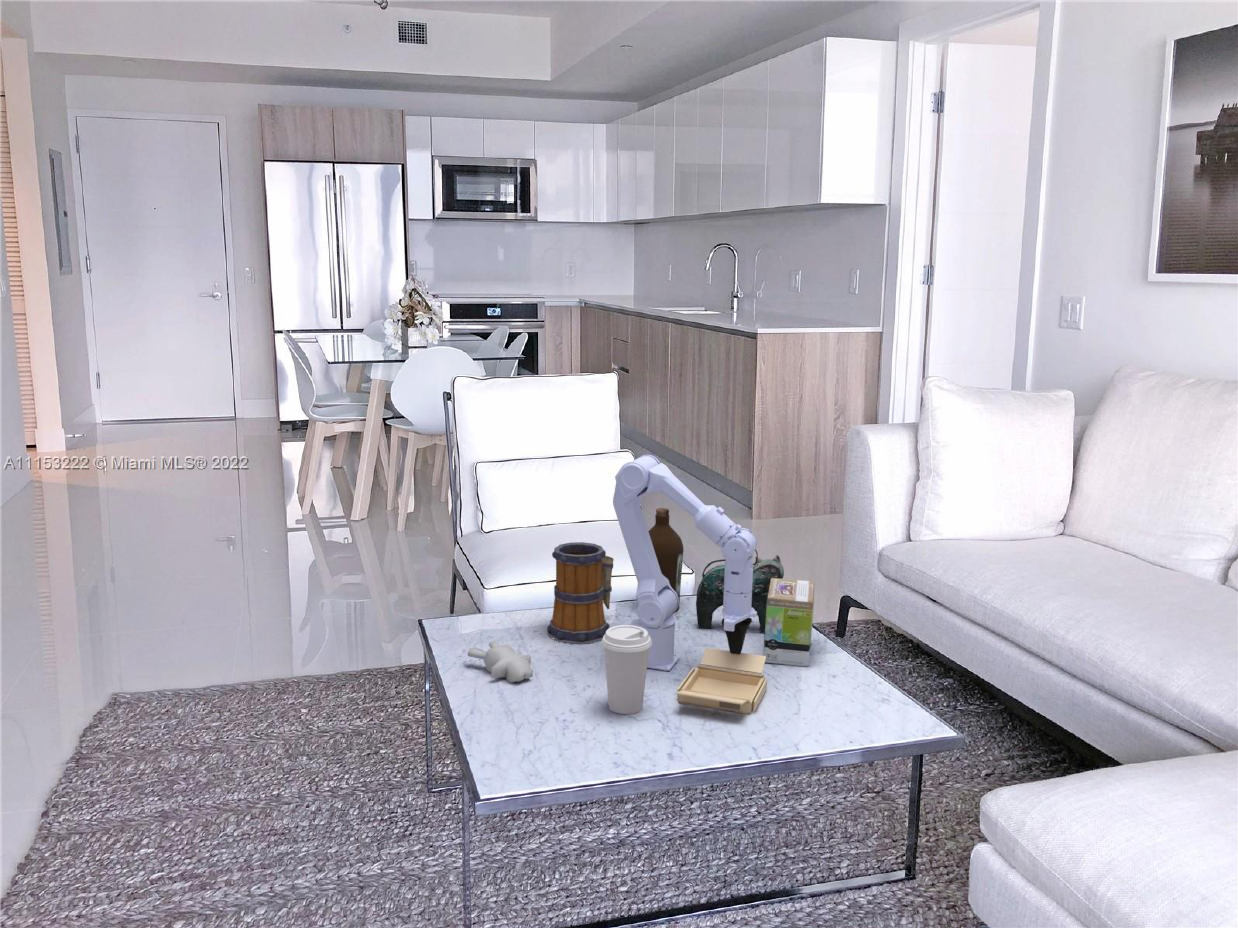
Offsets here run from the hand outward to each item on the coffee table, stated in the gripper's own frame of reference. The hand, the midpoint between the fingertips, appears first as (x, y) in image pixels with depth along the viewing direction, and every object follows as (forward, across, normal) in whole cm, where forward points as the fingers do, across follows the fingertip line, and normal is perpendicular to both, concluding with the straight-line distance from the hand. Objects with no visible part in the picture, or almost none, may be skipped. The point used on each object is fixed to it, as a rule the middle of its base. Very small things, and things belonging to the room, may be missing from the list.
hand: (735, 652), depth 204 cm
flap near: (+2, -16, 0) cm, 17 cm away
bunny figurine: (+5, -16, +45) cm, 48 cm away
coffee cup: (+5, -22, +16) cm, 28 cm away
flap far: (+2, -4, 0) cm, 5 cm away
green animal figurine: (+5, +26, +5) cm, 27 cm away
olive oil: (+5, +34, +26) cm, 43 cm away
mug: (+5, +13, +38) cm, 41 cm away
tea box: (+5, +17, -8) cm, 19 cm away
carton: (+5, -10, 0) cm, 11 cm away
